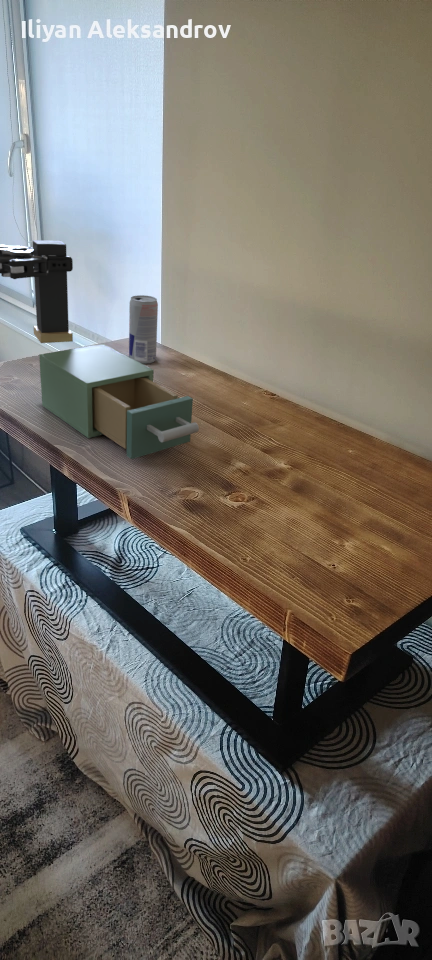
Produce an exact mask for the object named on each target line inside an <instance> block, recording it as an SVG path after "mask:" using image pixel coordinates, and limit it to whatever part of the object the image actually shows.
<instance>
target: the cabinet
mask: <svg viewBox="0 0 432 960" xmlns="http://www.w3.org/2000/svg"><path fill="white" fill-rule="evenodd" d="M38 356H39V370H40V371H39V373H40V374H39V376H40V391H41V406H42V407H43V408H45V410H48V411H49V412H51V413H52V414H53V415H55V416H56V417H57V418H59V419H60V420H62V422H64V423H66V424H68V425H69V426H70V427H72V428H73V429H75V430H76V431H77V432H79V433H80V434H82V435H83V436H84V437H86V438H87V439H91V438H94V437H98V436H102V435H104V434H102V433H101V432H100V431H98V430H97V429H95V428H94V427H93V419H92V387H97V386H102V385H107V384H111V383H116V382H121V381H126V380H130V379H135V378H140V377H145V378H147V379H149V380H151V381H153V382H154V374H155V373H154V372H155V370H154V369H153V368H151V367H149V366H147V365H146V364H141V363H139V362H137V361H135V360H134V359H132V358H130V357H129V355H126V354H125V353H122V352H121V351H118V350H116V349H115V348H113V347H111V346H108V345H106V344H105V343H100V344H95V345H88V346H82V347H77V348H76V347H75V348H71V349H70V348H69V349H64V350H59V351H58V350H57V351H52V352H46V353H40V354H38Z"/></svg>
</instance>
